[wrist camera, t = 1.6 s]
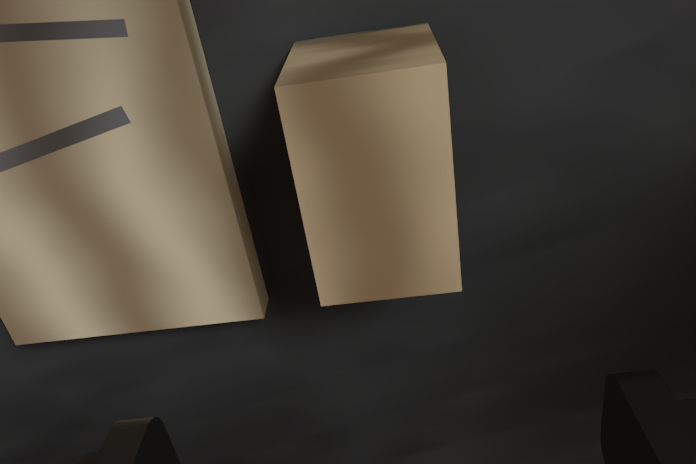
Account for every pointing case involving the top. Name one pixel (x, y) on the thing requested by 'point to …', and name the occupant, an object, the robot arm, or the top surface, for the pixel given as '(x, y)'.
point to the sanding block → (373, 163)
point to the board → (115, 175)
